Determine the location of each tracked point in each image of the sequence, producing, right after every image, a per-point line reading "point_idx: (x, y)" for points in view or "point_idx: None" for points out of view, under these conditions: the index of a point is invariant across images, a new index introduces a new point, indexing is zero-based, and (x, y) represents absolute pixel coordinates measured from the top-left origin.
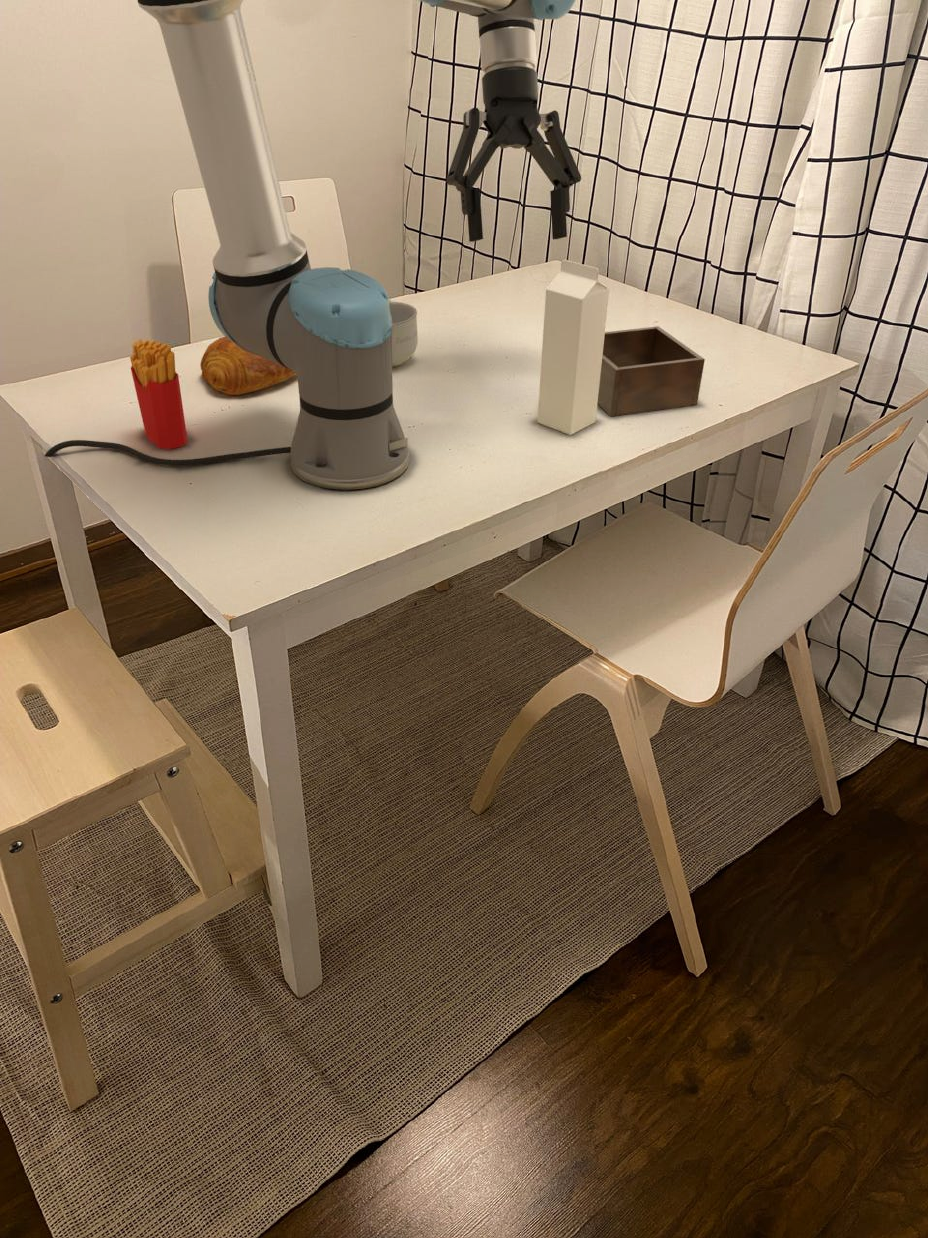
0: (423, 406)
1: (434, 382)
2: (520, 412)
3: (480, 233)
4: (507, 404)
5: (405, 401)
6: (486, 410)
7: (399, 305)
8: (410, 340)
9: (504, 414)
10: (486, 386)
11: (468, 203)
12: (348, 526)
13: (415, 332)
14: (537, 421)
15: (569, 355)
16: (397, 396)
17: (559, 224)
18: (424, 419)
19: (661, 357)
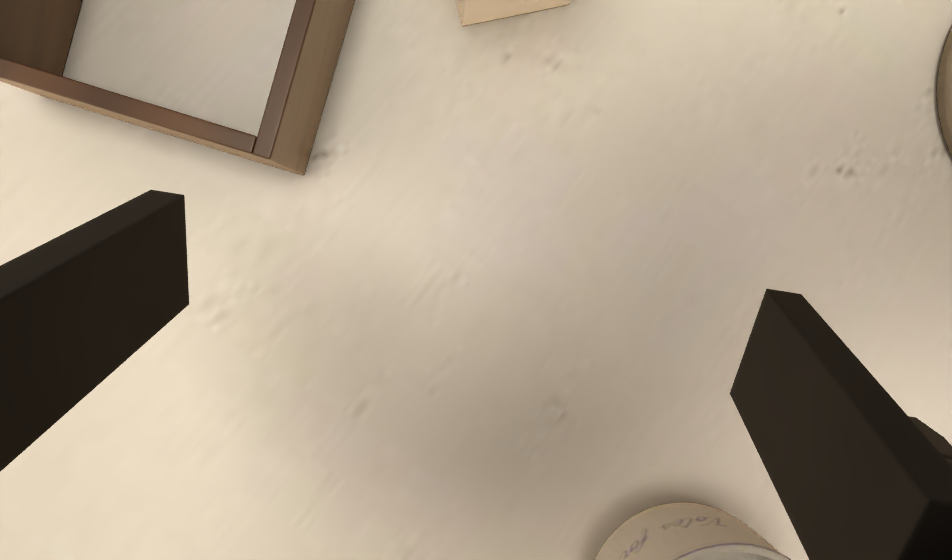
0: (751, 258)
1: (638, 372)
2: (564, 82)
3: (795, 303)
4: (562, 142)
5: None
6: (631, 144)
7: None
8: (663, 522)
9: (607, 96)
10: (536, 271)
11: (949, 460)
12: None
13: (638, 546)
14: (569, 3)
15: None
16: None
17: (143, 250)
18: (793, 190)
19: (33, 10)
